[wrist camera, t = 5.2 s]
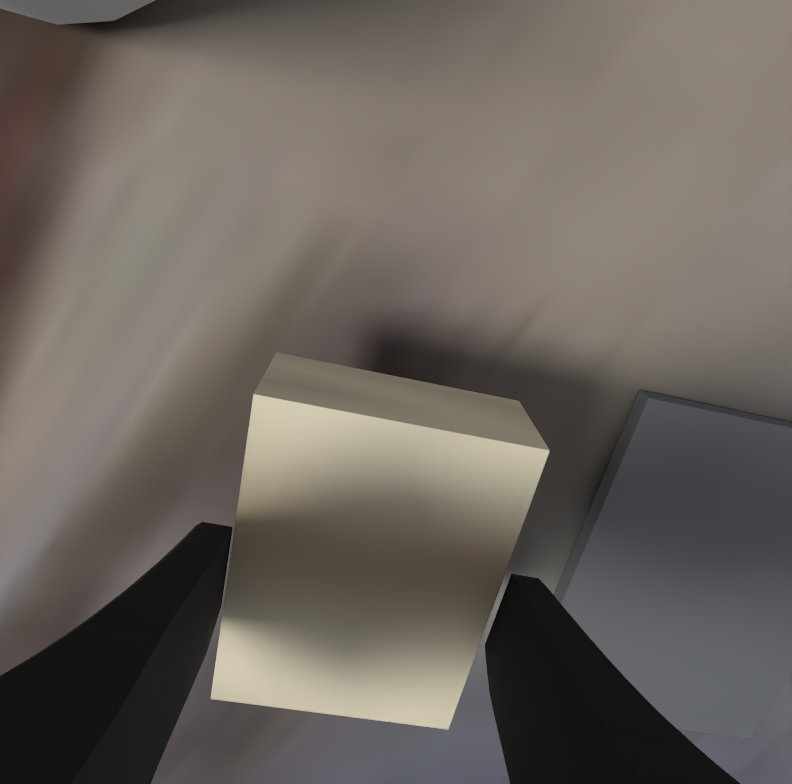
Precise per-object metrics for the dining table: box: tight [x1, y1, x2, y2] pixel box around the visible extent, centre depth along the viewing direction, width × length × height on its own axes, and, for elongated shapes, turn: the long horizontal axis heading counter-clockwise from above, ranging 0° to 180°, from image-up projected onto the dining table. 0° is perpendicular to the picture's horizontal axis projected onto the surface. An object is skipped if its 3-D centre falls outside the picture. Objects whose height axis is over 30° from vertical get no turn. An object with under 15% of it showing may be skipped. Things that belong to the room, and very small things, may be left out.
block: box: [211, 352, 550, 729], centre depth 12 cm, size 8×6×2 cm
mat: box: [554, 390, 792, 739], centre depth 18 cm, size 12×9×1 cm
